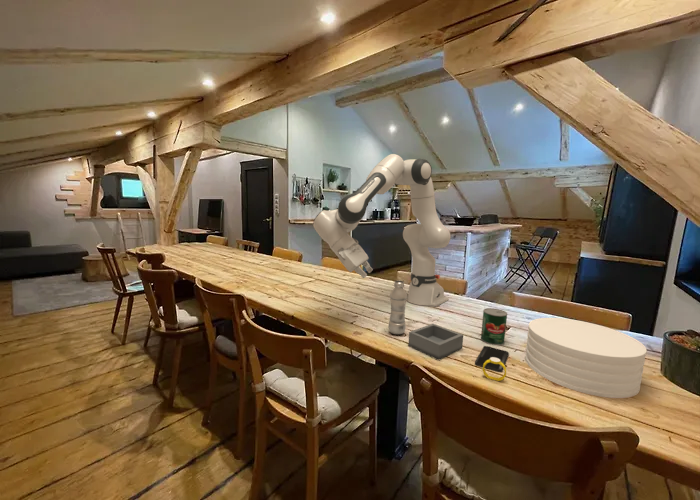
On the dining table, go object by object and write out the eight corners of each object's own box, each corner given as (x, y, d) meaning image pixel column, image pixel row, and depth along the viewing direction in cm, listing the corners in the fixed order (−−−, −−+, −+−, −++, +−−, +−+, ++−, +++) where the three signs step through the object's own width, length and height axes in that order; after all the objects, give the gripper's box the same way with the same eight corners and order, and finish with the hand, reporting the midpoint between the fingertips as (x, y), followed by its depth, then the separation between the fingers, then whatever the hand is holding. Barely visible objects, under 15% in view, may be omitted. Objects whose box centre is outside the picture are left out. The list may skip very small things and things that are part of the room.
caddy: (432, 336, 116) (433, 323, 116) (462, 348, 107) (463, 334, 106) (408, 345, 108) (409, 331, 107) (438, 360, 99) (439, 345, 98)
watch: (482, 379, 89) (482, 359, 88) (483, 374, 91) (483, 355, 91) (505, 384, 86) (506, 363, 85) (506, 379, 88) (506, 359, 88)
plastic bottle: (406, 330, 121) (408, 280, 118) (404, 337, 114) (407, 284, 112) (389, 328, 123) (391, 278, 120) (386, 335, 116) (389, 283, 113)
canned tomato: (490, 346, 109) (493, 316, 108) (476, 337, 117) (478, 308, 115) (509, 344, 112) (512, 314, 110) (493, 335, 119) (496, 307, 117)
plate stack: (638, 370, 96) (644, 334, 95) (640, 413, 75) (648, 369, 74) (535, 341, 115) (539, 311, 113) (514, 370, 94) (518, 334, 92)
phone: (509, 351, 104) (501, 370, 92) (509, 355, 104) (501, 374, 92) (484, 345, 108) (473, 362, 96) (483, 348, 109) (473, 365, 96)
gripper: (342, 244, 109) (368, 274, 108) (357, 238, 128) (379, 264, 127) (329, 256, 111) (355, 285, 110) (346, 248, 130) (368, 273, 129)
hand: (368, 274), depth 119 cm, fingers open, 8 cm apart
